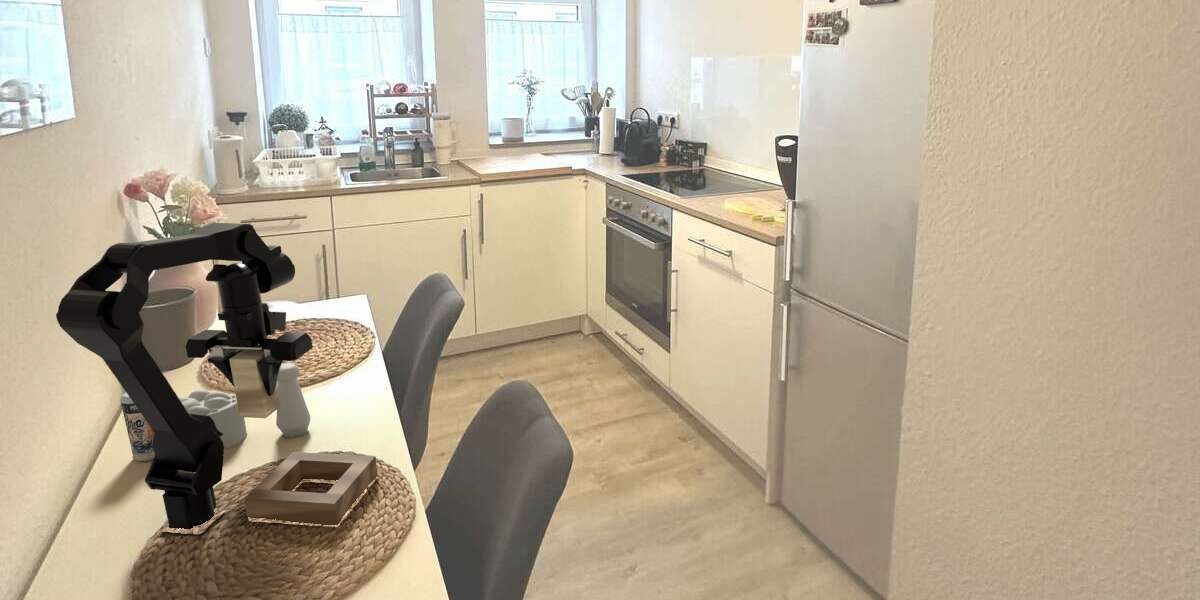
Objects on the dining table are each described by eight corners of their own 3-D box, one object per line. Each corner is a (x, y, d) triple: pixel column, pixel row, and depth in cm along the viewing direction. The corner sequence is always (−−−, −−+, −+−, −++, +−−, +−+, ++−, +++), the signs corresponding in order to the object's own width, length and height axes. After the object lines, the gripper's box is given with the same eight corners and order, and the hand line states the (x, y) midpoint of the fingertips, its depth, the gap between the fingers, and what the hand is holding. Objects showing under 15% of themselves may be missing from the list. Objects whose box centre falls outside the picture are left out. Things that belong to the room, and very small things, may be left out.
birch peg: (265, 418, 128) (255, 359, 125) (239, 417, 129) (229, 359, 126) (280, 406, 132) (271, 349, 129) (255, 405, 133) (245, 348, 130)
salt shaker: (300, 441, 142) (290, 372, 138) (271, 438, 143) (260, 371, 139) (318, 426, 147) (308, 360, 143) (290, 424, 148) (279, 358, 144)
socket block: (337, 528, 115) (334, 503, 114) (248, 522, 117) (243, 498, 116) (378, 478, 128) (375, 456, 127) (296, 473, 131) (293, 451, 129)
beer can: (129, 465, 135) (114, 399, 132) (137, 452, 140) (122, 388, 136) (161, 460, 136) (147, 395, 133) (167, 447, 141) (154, 384, 137)
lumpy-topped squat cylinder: (169, 437, 145) (159, 393, 142) (246, 423, 150) (239, 380, 147) (164, 463, 136) (154, 416, 133) (247, 447, 140) (239, 401, 138)
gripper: (322, 288, 131) (334, 376, 136) (218, 286, 134) (233, 373, 139) (286, 309, 121) (301, 404, 125) (174, 307, 123) (192, 400, 128)
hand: (257, 394), depth 130 cm, fingers closed on birch peg, 4 cm apart
